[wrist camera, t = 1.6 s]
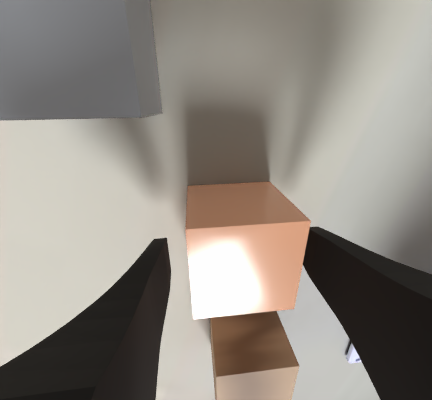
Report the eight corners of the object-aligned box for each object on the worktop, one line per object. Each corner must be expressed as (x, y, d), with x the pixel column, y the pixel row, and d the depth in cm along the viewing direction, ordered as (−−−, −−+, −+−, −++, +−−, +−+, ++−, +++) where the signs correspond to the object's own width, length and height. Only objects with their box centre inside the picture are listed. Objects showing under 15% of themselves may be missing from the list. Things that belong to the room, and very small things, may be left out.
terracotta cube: (269, 181, 13) (310, 220, 8) (263, 247, 15) (294, 308, 10) (187, 185, 13) (185, 229, 8) (192, 253, 15) (193, 319, 10)
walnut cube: (270, 297, 17) (299, 365, 13) (265, 337, 19) (288, 409, 15) (209, 303, 17) (216, 377, 12) (211, 344, 19) (217, 420, 14)
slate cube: (148, -16, 9) (103, -146, 4) (162, 113, 11) (141, 117, 6) (20, -21, 8) (-182, -170, 4) (59, 115, 10) (-43, 121, 6)
